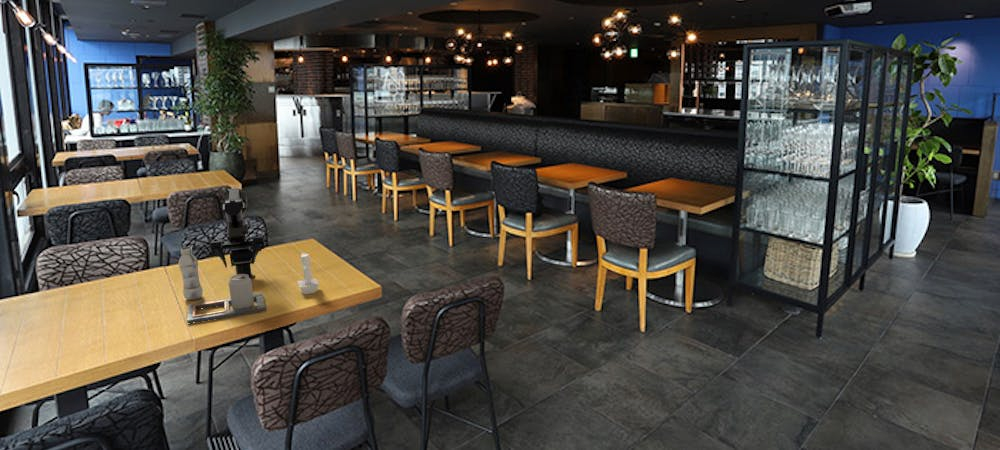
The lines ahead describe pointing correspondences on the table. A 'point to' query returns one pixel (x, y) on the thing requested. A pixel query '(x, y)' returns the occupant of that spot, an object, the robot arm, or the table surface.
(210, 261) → the table surface
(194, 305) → the rail plate
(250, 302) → the can
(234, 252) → the robot arm
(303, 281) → the figurine
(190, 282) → the plastic bottle
